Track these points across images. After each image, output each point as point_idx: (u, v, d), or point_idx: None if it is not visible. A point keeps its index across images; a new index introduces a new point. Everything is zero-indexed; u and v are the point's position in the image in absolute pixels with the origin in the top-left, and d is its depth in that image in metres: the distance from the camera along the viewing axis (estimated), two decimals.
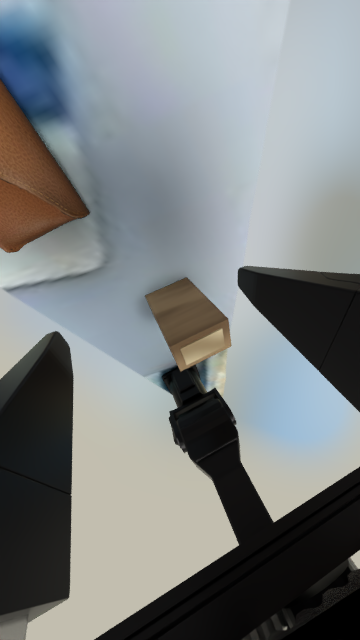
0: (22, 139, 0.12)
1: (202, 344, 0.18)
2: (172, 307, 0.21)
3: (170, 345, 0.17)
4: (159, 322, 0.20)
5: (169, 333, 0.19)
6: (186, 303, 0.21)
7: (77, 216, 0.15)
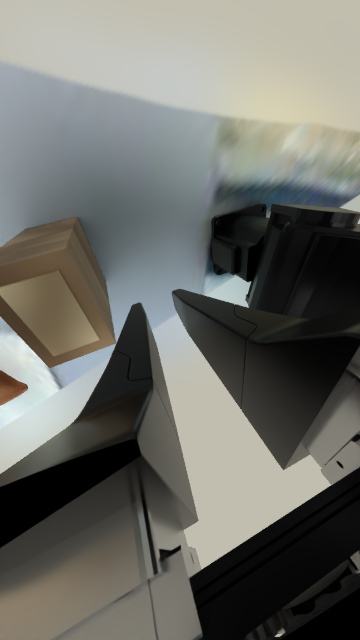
0: None
1: (46, 323, 0.10)
2: None
3: None
4: None
5: None
6: None
7: None
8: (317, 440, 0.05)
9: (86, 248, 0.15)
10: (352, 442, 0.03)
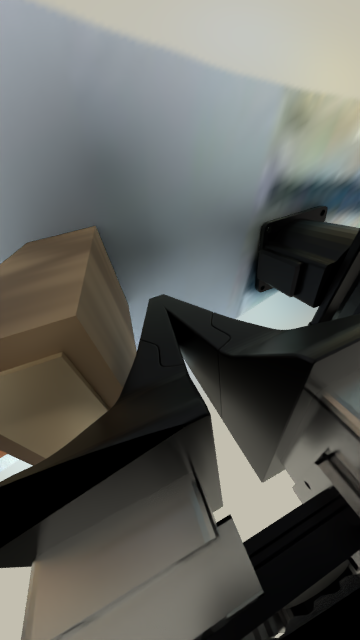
0: None
1: (40, 429, 0.06)
2: None
3: None
4: None
5: None
6: None
7: None
8: (290, 456, 0.04)
9: (107, 272, 0.10)
10: (315, 465, 0.03)
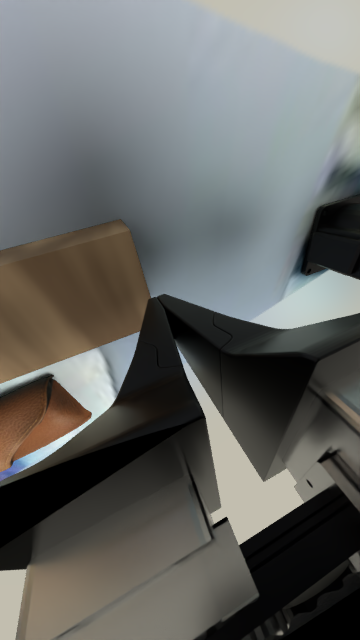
0: None
1: None
2: None
3: None
4: None
5: None
6: None
7: (44, 409, 0.15)
8: (291, 455, 0.04)
9: (82, 284, 0.10)
10: (318, 463, 0.03)
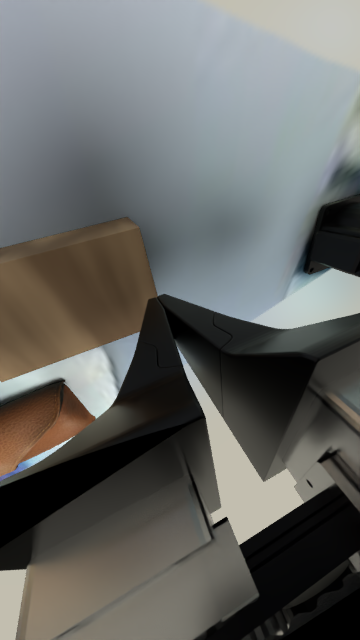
0: None
1: None
2: None
3: None
4: None
5: None
6: None
7: (57, 413, 0.15)
8: (291, 455, 0.04)
9: (90, 280, 0.10)
10: (318, 463, 0.03)
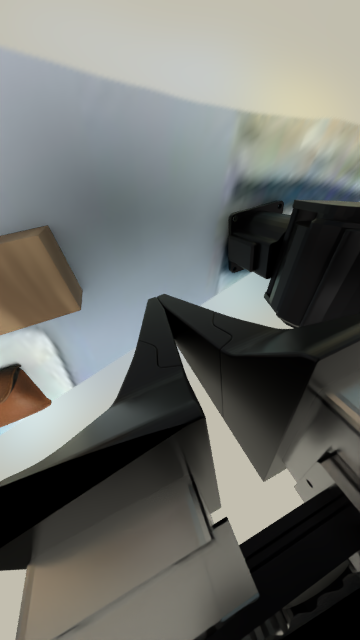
0: None
1: None
2: None
3: None
4: None
5: None
6: None
7: (9, 390, 0.19)
8: (291, 455, 0.04)
9: (4, 274, 0.13)
10: (317, 463, 0.03)
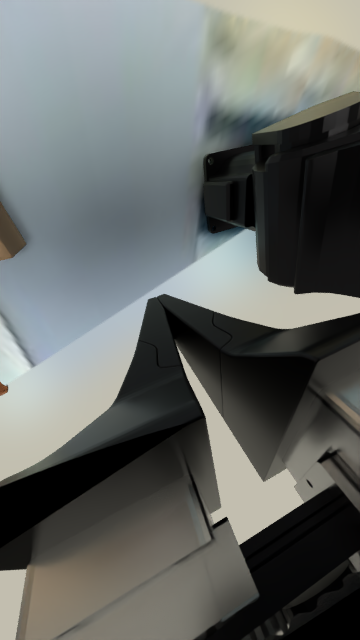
0: None
1: None
2: None
3: None
4: None
5: None
6: None
7: None
8: (291, 455, 0.04)
9: None
10: (318, 463, 0.03)
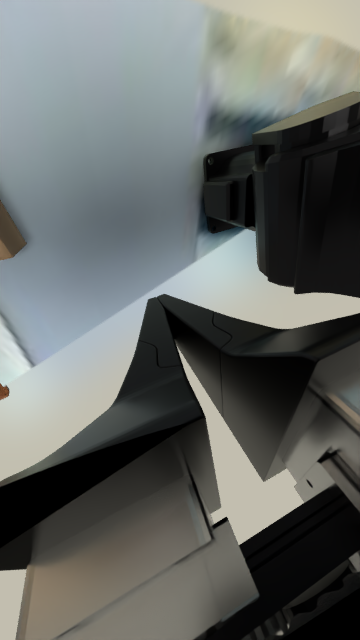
0: None
1: None
2: None
3: None
4: None
5: None
6: None
7: None
8: (291, 455, 0.04)
9: None
10: (317, 463, 0.03)
